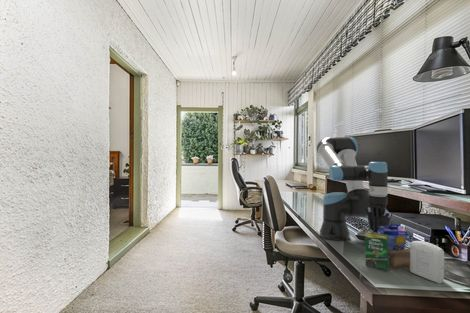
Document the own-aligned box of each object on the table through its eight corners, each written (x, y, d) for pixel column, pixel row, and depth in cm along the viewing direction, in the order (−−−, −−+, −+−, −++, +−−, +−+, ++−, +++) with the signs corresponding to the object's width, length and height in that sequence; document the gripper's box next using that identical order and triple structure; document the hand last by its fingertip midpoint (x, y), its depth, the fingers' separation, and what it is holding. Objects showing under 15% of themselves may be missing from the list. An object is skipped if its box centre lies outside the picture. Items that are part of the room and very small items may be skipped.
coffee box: (364, 265, 102) (364, 232, 102) (366, 263, 104) (366, 230, 104) (387, 271, 97) (387, 236, 97) (389, 268, 99) (389, 234, 99)
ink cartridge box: (381, 257, 110) (384, 225, 107) (375, 250, 115) (377, 220, 113) (405, 257, 109) (408, 225, 107) (397, 251, 115) (400, 220, 113)
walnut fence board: (389, 267, 100) (389, 251, 100) (426, 260, 106) (426, 246, 106) (394, 269, 98) (394, 254, 98) (432, 263, 104) (432, 248, 104)
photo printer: (446, 282, 88) (446, 246, 88) (439, 284, 86) (439, 248, 86) (415, 270, 98) (415, 237, 98) (407, 272, 96) (407, 239, 96)
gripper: (360, 193, 123) (360, 243, 123) (383, 197, 111) (384, 252, 110) (372, 193, 125) (373, 241, 125) (397, 197, 113) (397, 251, 112)
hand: (378, 247), depth 118 cm, fingers closed
